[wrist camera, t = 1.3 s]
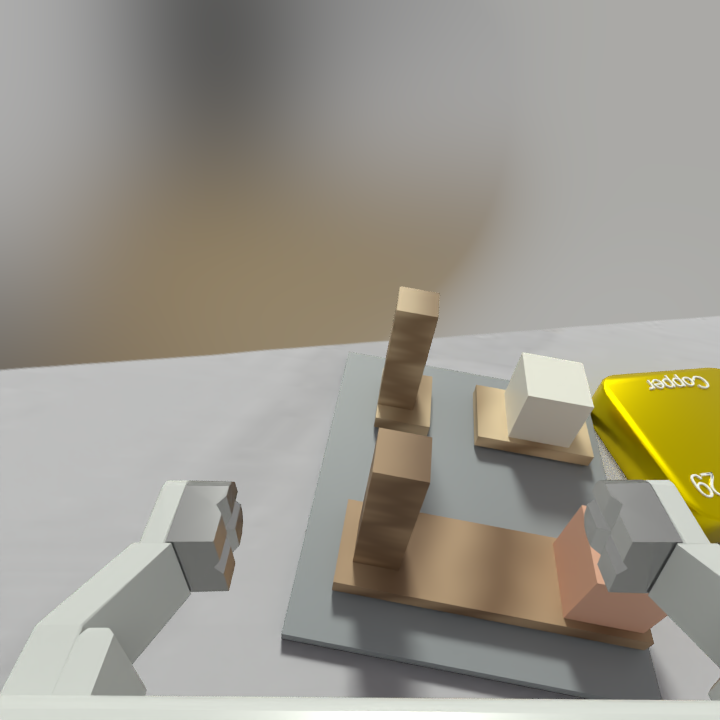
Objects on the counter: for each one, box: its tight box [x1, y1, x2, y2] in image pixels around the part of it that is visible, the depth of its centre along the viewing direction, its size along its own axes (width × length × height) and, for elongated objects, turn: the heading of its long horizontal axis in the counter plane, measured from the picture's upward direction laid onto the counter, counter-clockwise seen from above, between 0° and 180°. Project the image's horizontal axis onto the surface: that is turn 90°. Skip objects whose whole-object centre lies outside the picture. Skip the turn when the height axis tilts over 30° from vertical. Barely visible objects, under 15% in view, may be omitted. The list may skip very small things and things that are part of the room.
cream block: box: [504, 352, 594, 448], centre depth 43 cm, size 5×5×5 cm
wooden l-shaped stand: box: [332, 428, 654, 650], centre depth 31 cm, size 20×6×11 cm, turn 82°
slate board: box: [281, 352, 662, 700], centre depth 41 cm, size 23×26×1 cm
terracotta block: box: [553, 505, 667, 633], centre depth 32 cm, size 5×5×5 cm
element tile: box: [590, 368, 720, 543], centre depth 45 cm, size 15×15×5 cm
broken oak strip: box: [374, 287, 594, 466], centre depth 42 cm, size 18×6×11 cm, turn 82°
